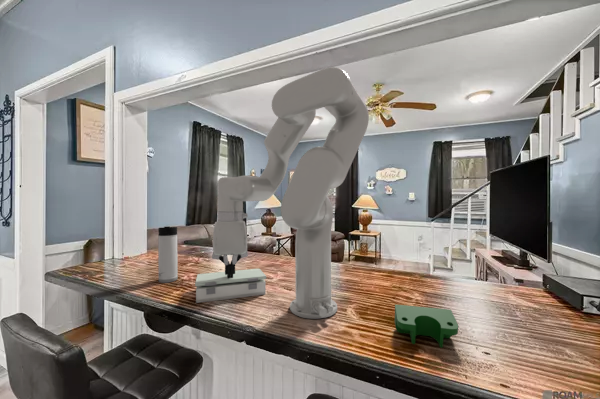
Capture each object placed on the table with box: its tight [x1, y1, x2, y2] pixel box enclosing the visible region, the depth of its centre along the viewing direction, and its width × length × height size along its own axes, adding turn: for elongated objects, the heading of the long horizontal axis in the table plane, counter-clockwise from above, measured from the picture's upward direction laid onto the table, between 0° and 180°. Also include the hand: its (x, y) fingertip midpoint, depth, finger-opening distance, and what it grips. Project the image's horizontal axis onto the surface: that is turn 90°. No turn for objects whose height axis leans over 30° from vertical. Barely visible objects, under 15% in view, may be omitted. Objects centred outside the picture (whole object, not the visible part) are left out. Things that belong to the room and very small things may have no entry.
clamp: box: [394, 304, 459, 349], centre depth 54 cm, size 12×6×9 cm, turn 69°
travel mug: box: [157, 226, 179, 284], centre depth 95 cm, size 6×7×20 cm
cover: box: [194, 268, 267, 287], centre depth 82 cm, size 14×20×1 cm
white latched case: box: [195, 279, 267, 304], centre depth 82 cm, size 13×20×4 cm, turn 109°
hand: (230, 276), depth 80 cm, fingers closed
